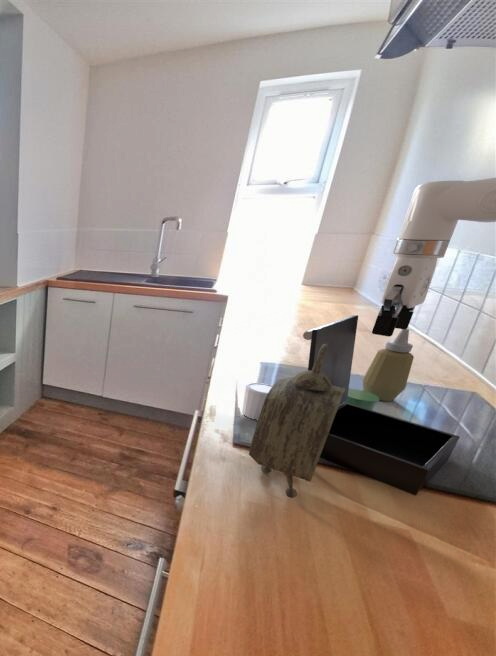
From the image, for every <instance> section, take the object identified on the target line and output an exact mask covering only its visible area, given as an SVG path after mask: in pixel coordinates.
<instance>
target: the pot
mask: <svg viewBox="0 0 496 656" xmlns="http://www.w3.org/2000/svg"><path fill="white" fill-rule="evenodd" d="M345 402H346V403H349V404H352V405H356V406H359V407H362V408H366V409H369V410H372V411H374V410H375V407H376V404H377V403H378V402H380V400H379V397H378V396H376V395H374V394H372V393H369V392H366V391H363V389H356V388H349V390H348V397H347V401H345ZM343 403H344V402H343Z"/></svg>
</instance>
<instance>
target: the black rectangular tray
mask: <svg viewBox="0 0 496 656" xmlns="http://www.w3.org/2000/svg"><path fill="white" fill-rule="evenodd" d="M460 438H461V436H460V435H457V434H453V433H450V432H446V431H443V430H439V429H436V428H432V427H430V426H426V425H423V424H419V423H416V422H413V421H409V420H405V419H403V418H399V417H395V416H393V415H389V414H385V413H382V412H379V411H376V410H373V411H372V410H369V409H366V408H362V407H359V406H356V405H352V404H349V403H346V402H344V403H342V404H340V405H339V407H338V410H337V412H336V415H335V418H334V420H333V423H332V426H331V428H330V431H329V434H328V436H327V439H326V442H325V444H324V447H323V450H322V452H321V455H320V458H319V459H322V460H324V461H327V462H329V463H331V464H335V465H337V466H339V467H342V468H344V469H347V470H350V471H352V472H355V473H357V474H360V475H362V476H365V477H367V478H369V479H372V480H375V481H378V482H380V483H381V484H385V485H387V486H390V487H392V488H395V489H397V490H400V491H403V492H405V493H407V494H410V495H413V496H417V495H418V494H419V493H420V492H421V491H422V490H423V489H424V488H425V486H426V485H427V484H428V483H429V482H430V480H431V479H433V477H434V476H435V475H436V474H437V473H438V472H439V470H440V469H441V468H442V467H443V466H444V465H445V464H446V463H447V462H448V460H449V459H450V457H451V456H452V453H453V451H454V449H455V447H456V446H457V443H458V442H459V440H460Z"/></svg>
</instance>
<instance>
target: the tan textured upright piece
mask: <svg viewBox="0 0 496 656" xmlns="http://www.w3.org/2000/svg"><path fill="white" fill-rule="evenodd" d="M327 347H328V345H327V344H324V345H322V347H321V348H320V351H319V353H318V356H317V359H316V362H315V363H314V366H313V369H312V371H308V370H304V371H302V372H298V373H297V374H296V375H295V376H290V377H286V378H280V379H277V380H276V381H275V382H274V384H273V385H272V386H273V387H272V388H271V389H270V391H269V392H268V394H267V396H266V398H265V400H264V403H263V406H262V409H261V413H260V416H259V419H258V420H257V423H256V425H255V426H256V427H255V429H254V433H253V437H252V440H251V444H250V447H249V452H248V456H249V457H251V458H252V459H253V461H255V462H256V464H258V465H260V470H261V472H262V473H264V474H270V473H271V472H272V470H275V471H278V472H281V473H283V474H284V475H285V476H286V480H287V485H288V488H287V489H286V490H285V495H286V496H287V497H288V498H291V499H294V498H295V499H296V498H297V497H298V491H297V490H296V489H295V488H294V478H297V479H300V480H304V481H306V482H309V483H311V481H312V478H313V476H314V474H315V471H316V468H317V466H318V463H319V460H320V459H321V458H320V455H321V452H322V450H323V447H324V444H325V442H326V439H327V436H328V434H329V431H330V428H331V426H332V423H333V420H334V418H335V415H336V412H337V410H338V407H339V404H340V402H341V399H342V396H343V394H344V391H345V388H341V387H337V386H332V384H331V381H330V379H329V378H328V377H327V376H326V374H323V373H321V372H320V371H321V368H322V365H323V364H322V362H323V358H324V355H325V353H326V350H327Z"/></svg>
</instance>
